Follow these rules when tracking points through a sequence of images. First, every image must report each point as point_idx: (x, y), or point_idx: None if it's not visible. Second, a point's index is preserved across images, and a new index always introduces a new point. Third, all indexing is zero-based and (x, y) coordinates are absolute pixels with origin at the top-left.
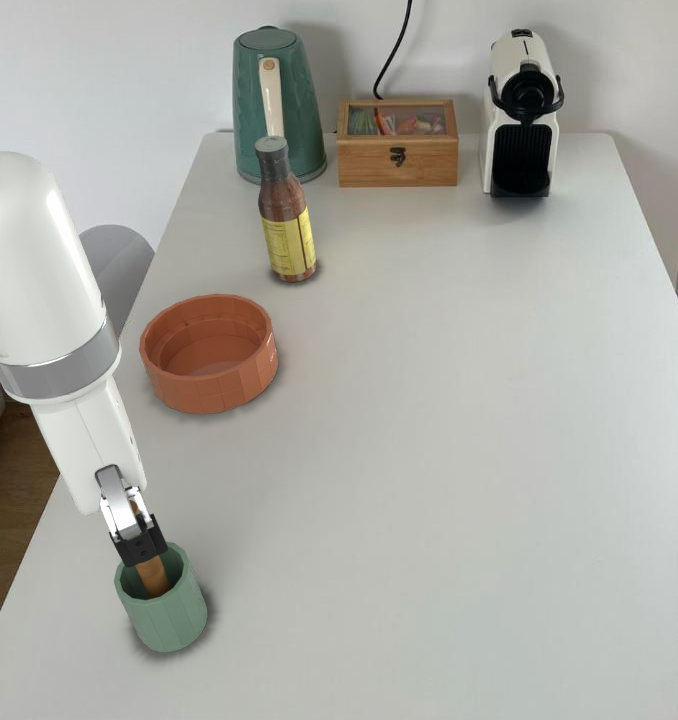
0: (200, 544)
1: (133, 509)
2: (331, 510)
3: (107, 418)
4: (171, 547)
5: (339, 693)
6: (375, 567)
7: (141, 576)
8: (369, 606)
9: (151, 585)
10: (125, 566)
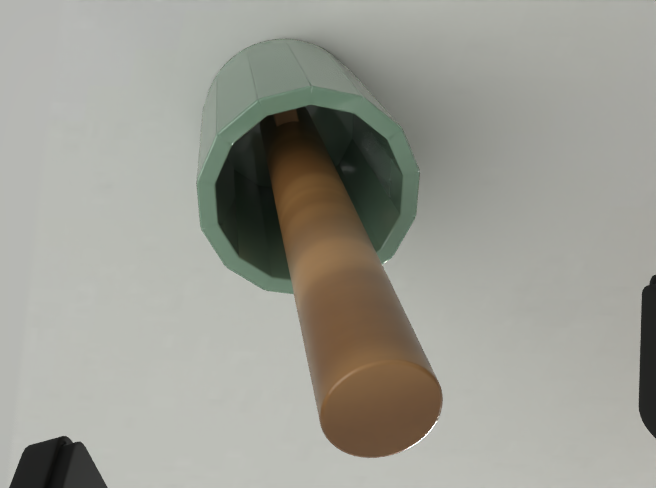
0: (462, 184)
1: (368, 447)
2: (440, 417)
3: None
4: (377, 251)
5: (56, 406)
6: (294, 470)
7: (288, 186)
8: (219, 457)
9: (274, 188)
10: (24, 451)
